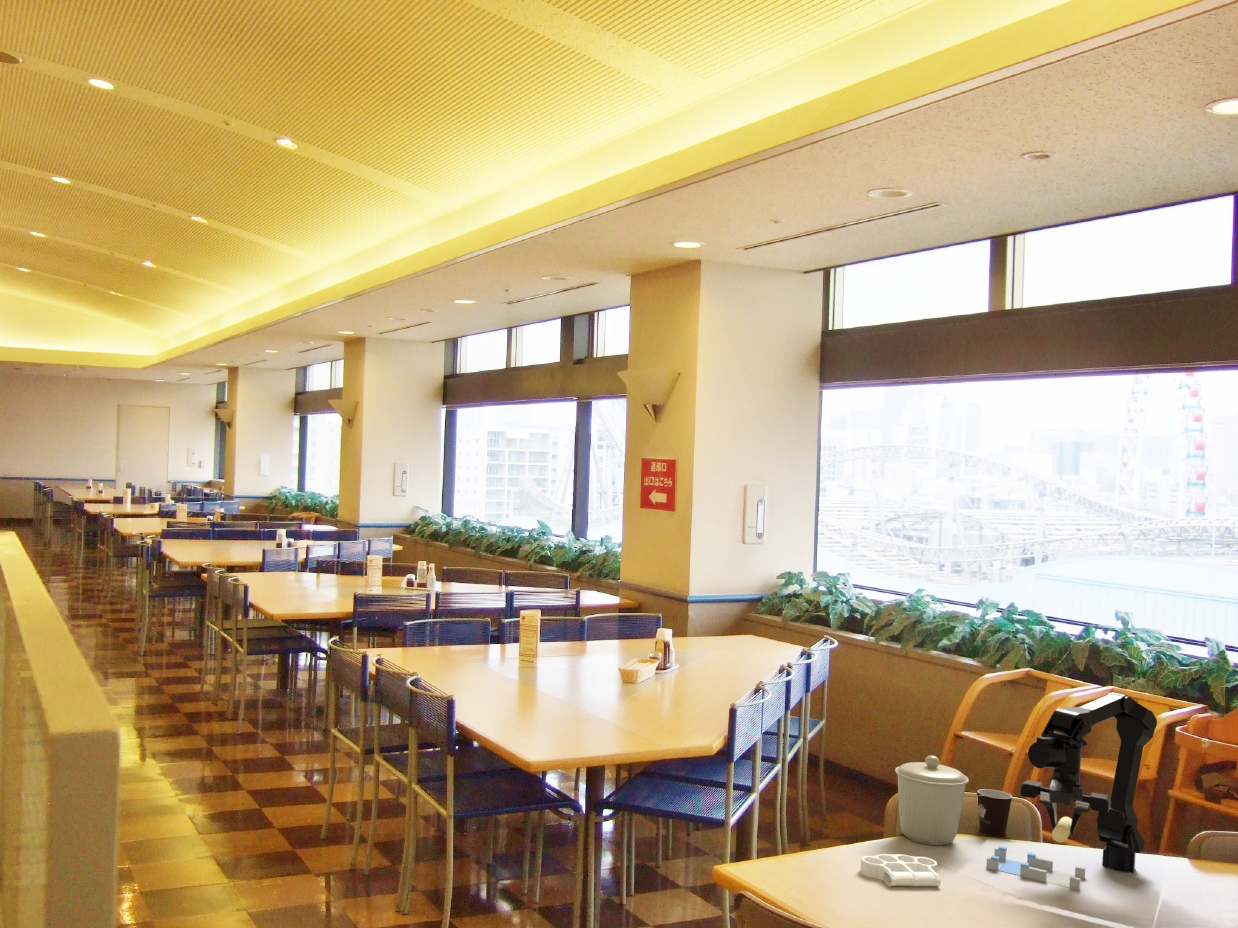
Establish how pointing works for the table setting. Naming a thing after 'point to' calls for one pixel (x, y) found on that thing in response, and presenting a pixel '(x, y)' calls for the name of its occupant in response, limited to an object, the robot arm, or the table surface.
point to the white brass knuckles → (901, 870)
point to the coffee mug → (993, 811)
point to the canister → (930, 801)
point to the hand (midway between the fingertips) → (1063, 833)
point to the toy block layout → (1035, 869)
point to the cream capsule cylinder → (1062, 829)
